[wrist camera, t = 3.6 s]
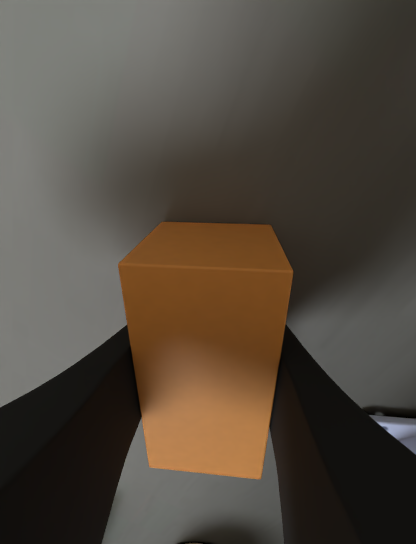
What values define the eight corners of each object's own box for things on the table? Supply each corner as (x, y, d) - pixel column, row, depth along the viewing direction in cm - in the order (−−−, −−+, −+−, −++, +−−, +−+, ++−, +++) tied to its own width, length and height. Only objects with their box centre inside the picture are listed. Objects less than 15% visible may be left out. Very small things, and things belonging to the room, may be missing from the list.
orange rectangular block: (271, 224, 9) (294, 271, 6) (253, 386, 13) (261, 480, 9) (161, 221, 10) (116, 263, 6) (172, 379, 13) (148, 468, 9)
